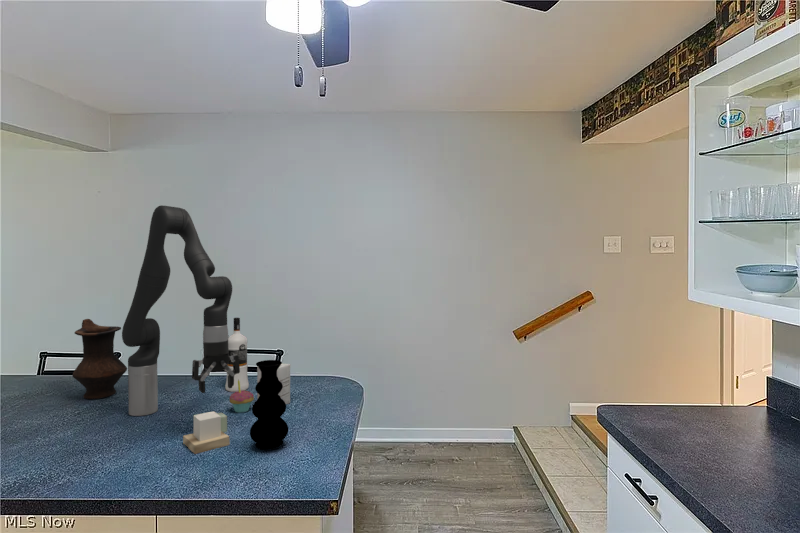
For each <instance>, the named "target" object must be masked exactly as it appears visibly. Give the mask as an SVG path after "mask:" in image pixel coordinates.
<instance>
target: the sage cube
mask: <svg viewBox="0 0 800 533" xmlns="http://www.w3.org/2000/svg"><path fill="white" fill-rule="evenodd" d="M216 413H217V414H218V415H219V416H221V431H222V432H223V433H227V432H228V415H226V414H224V413H223V412H216Z"/></svg>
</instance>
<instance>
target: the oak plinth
mask: <svg viewBox="0 0 800 533" xmlns="http://www.w3.org/2000/svg"><path fill="white" fill-rule="evenodd" d="M230 437H231V436H230V435H228V434H227V433H226V432H222V431H221V437H216V438H212V439H208V440H204V441H199V440H198V439H197V438H196V437H195V436H194V432H193V433H189V434H183V436H182V442H183V443H182V444H183V445H184V444H185V445H186V446H187V447H188V448H187V447H186V446H185V445H184V446H185V447H186V448H187V449H188V450H190V451H191V452H192V453H193V454H195V455H198V454H201V453H205V452H208V451H209V452H210V451H213V450H216V448H217V449H219V448H223V447H227V446H230V445H231V444H230V442H231V441H230ZM212 449H213V450H212Z"/></svg>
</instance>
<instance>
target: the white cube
mask: <svg viewBox="0 0 800 533" xmlns="http://www.w3.org/2000/svg"><path fill="white" fill-rule="evenodd" d="M217 413H218V412H216V411H208V412H203V413H197V414H194V415H193V433H194V436H195V437H196V438H197V439H198V440H199V441H204V440H208V439H212V438H216V437H221V416H219V415H218V414H217Z"/></svg>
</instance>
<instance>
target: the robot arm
mask: <svg viewBox="0 0 800 533" xmlns="http://www.w3.org/2000/svg"><path fill="white" fill-rule="evenodd" d="M150 220H151V221H150V224H149V233H148V237H147V244H146V250H145V252H144V257H143V261H142V265H141V268H140V271H139V274H138V278H137V283H136V288H135V291H134V295H133V298H132V302H131V305H130V307H129V310H128V313H127V315H126V317H125V320H124V323H123V327H122V329H121V330H122V331H121V339H122V343H123V344H124V345H125V346H126V347H129V348H136V347H138V349H137V350H136V351H135V352H134V353H133V354H131V355H130V356H129V357H128V359H127V374H128V375H127V376H128V377H127V382H128V383H127V386H128V387H127V388H128V389H127V390H128V391H127V392H128V399H127V400H128V415H129V416H133V417H134V416H135V417H141V416H147V415H151V414H155V413H157V412H158V410H159V409H158V408H159V406H158V405H159V404H158V402H159V399H158V397H159V395H158V386H159V385H158V383H159V382H158V357H159V356H160V347H161V346H160V344H161V330H160V325H159V322H158V321H157V320H156V319H155V318H151V317H150V318H147V316H148V313H149V311H150V310H151V308H152V307H153V306H154V305H155V304H156V303H157V301H158V300H159V299H160V298H161V297H162V295H164V293H165V292H166V289H167V287H168V285H169V284H168V283H169V279H170V276H171V265H170V263H169V260H168V257H167V255H166V252H165V241H166V236H167V235H169V234H171V235H179V236H180V237H181V238H182V240H183V241H184V250H183V259H184V261H185V263H186V264H185V265H187V267H188V269H189V270H190V272H191V273H192V275H193V279H194V284H195V288H196V292H197V294H198V296H199V297H201V299H203V300H214V302H213V304H212V305H209V306H206V308H204V309H203V330H202V331H203V332H202V338H203V339H202V344H203V345H202V351H203V354H202V357H203V358H202V359H199V360H197V359H193V360H192V366H191V367H192V369H191V370H192V372H191V378H192V379H193V380H194V381H198V391H199V392H200V393H202V394H205V393H206V381H205V379H206V378H207V377H208V376H210V373H216V372H222V371H224V372H225V373H226V375H227V374H228V375H229V376H228V387H229V388H232V386H234V375H235V374H238V373H240V367H239V356H238V355H235V354H234V355H233V356H229V354H228V353H229V348H228V338H229V337H230V336H229V328H228V311H229V307H230V303H231V297H232V295H233V283H232V282H231V280H230V278H229V277H227V276H223V275H222V276H212V275H213V274H214V273H215V271H216V267H215V264H214V263H213V261H212V259H211V258H210V256H209V255H208V253H207V252H206V250H205V248H204V247H203V244H202V242H201V239H200V237H199V234H198V232H197V229H196V227H195V225H194V222H193V219H192V217H191V215H190V213H189V212H188V211H187V210H186V209H184V208H181V207H176V206H170V205H161V204H160V205H159V206H157V207H155V209H154V211H153V213H152V215H151V219H150ZM230 360H231V361H232V362H233V370H231V369H230V368H229V367H228V365H227V364H228V362H229V361H230ZM202 365H203V366H204V367H203V369H202V370H201V373H199V372H200V368H201V366H202Z"/></svg>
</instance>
